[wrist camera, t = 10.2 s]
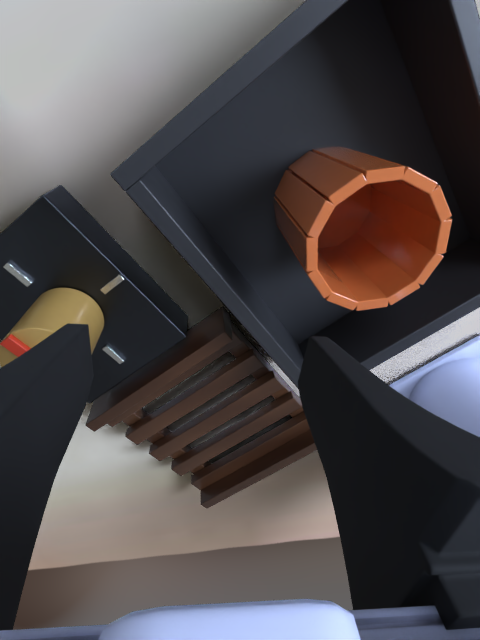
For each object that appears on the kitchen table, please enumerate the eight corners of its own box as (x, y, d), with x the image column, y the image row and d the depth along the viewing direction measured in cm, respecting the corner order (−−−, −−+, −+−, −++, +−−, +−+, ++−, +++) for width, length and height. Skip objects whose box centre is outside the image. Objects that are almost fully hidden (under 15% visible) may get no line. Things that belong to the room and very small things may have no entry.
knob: (118, 321, 20) (99, 370, 16) (73, 355, 21) (45, 409, 17) (66, 274, 18) (32, 316, 15) (18, 312, 19) (-25, 362, 16)
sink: (479, 236, 22) (547, 269, 18) (292, 352, 25) (311, 404, 21) (373, -56, 15) (444, -122, 11) (131, 157, 18) (109, 174, 14)
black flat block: (188, 315, 23) (187, 338, 21) (98, 378, 25) (88, 406, 23) (61, 184, 19) (41, 195, 16) (-37, 273, 20) (-67, 294, 18)
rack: (317, 413, 29) (328, 444, 26) (206, 475, 31) (206, 508, 29) (222, 306, 23) (224, 331, 20) (96, 393, 26) (84, 425, 23)
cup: (390, 212, 20) (469, 258, 14) (306, 269, 22) (347, 332, 16) (345, 122, 18) (419, 131, 12) (254, 192, 19) (278, 232, 13)
